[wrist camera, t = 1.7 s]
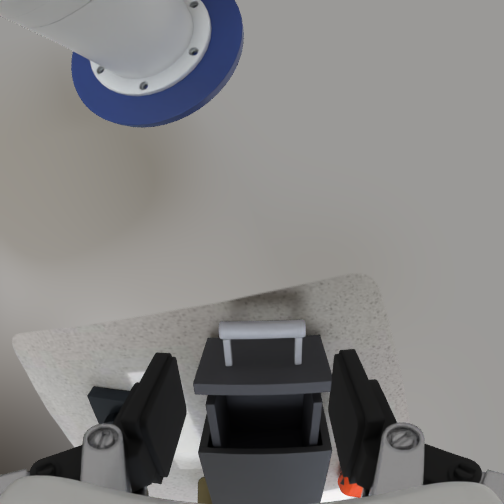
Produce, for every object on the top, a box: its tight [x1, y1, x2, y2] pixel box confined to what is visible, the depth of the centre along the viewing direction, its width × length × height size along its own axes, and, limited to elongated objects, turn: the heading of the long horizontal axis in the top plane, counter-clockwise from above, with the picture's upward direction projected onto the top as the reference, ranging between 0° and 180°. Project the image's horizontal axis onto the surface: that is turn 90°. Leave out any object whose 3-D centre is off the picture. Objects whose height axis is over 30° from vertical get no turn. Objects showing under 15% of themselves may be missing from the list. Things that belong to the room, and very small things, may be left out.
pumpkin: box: [338, 471, 363, 498], centre depth 35 cm, size 7×8×6 cm
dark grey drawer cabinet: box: [198, 404, 332, 504], centre depth 32 cm, size 15×13×10 cm
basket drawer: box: [193, 319, 332, 449], centre depth 29 cm, size 18×11×8 cm, turn 2°
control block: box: [87, 386, 130, 424], centre depth 35 cm, size 11×9×4 cm
